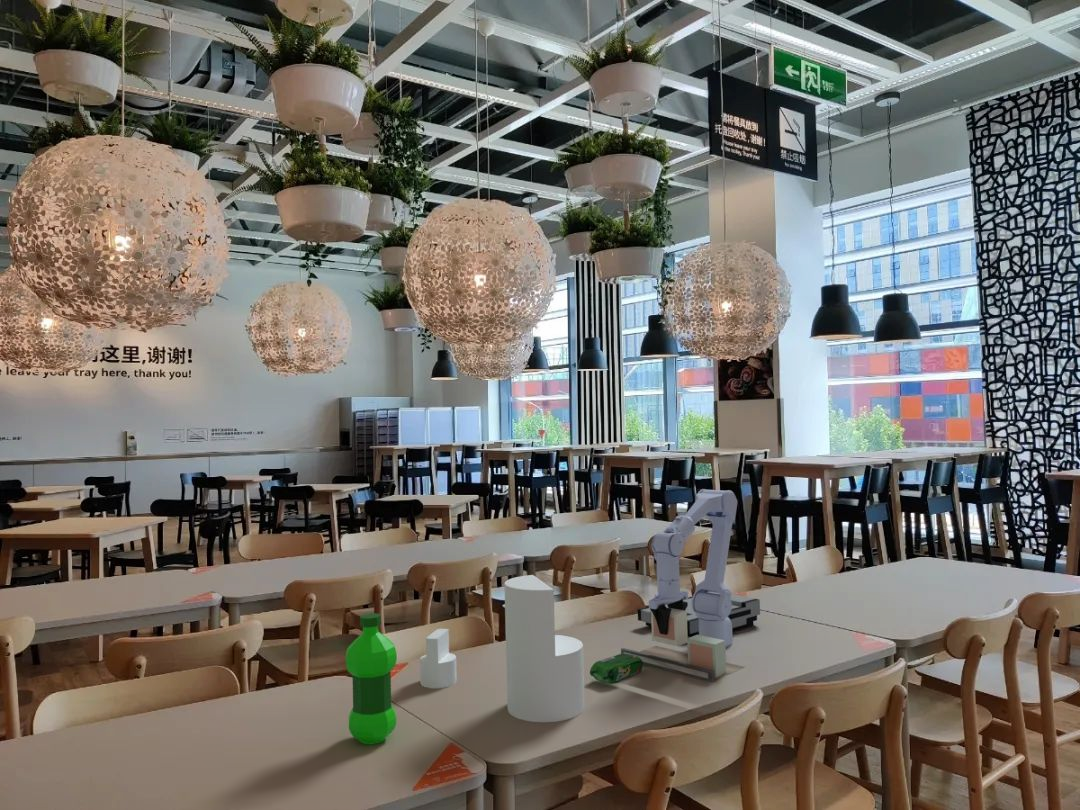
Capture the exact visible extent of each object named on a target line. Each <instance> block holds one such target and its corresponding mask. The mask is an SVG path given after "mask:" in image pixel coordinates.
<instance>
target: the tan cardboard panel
mask: <svg viewBox="0 0 1080 810" xmlns="http://www.w3.org/2000/svg"><path fill="white" fill-rule="evenodd" d="M620 654H629V655H634V656H637V657H639V658H640V659H641V660H642V662H643V666H644V665H645V666H648V667H652V668H657V669H660V670H663V671H668V672H672V673H675V674H678V675H679V674H680V675H683V676H687V677H689V678H693V679H699V680H702V681H706V682H710V683H713V682H715V681H718V680H720V679H722V678H724V677H727V676H729V675H731V674H734V673H736V672H737V671H740V670H742V669H744V668H745V666H742V665H738V664H735V663H729V662H726V673H725V674H723V675H721V676H719V677H716V678H715V677H714V670H710V669H706V668H702V667H698V666H694V665H690V664H688V652H683V651H679V650H675V649H671V648H667V647H662V646H659V645H655V646H651V647H649V648H646V649H642V650H640V651H637V650H634V649H630V648H625V647H622V648H620Z"/></svg>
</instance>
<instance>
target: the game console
mask: <svg viewBox="0 0 1080 810" xmlns="http://www.w3.org/2000/svg"><path fill="white" fill-rule="evenodd" d="M694 593H695V591H693V592H692V596H688V599H687V600H683V601H684V602H688V606H687V608H686V610H685V611H687V636H688V638H690V637H693V636H695V635H699V617H697V616H696V613H695V612H694V611H693V609H692V604H691V601H692V597H693V595H694ZM708 593H714V594H719V593H716V592H708ZM731 603H732V609H731V612H730V614H729V616H728V618H729V619H730V621H731V623H732V633H735V631H736V632H738V631H739V632H740V631H742V629H743V630H745V628H746V629H749V627H750V628H752V626H753V627H754V622H755V621H758V616H760V615H761V601H760V599H758V598H752V597H749V596H743V595H738V594H733V593H731ZM665 607H667V608H668V606H667V605H665ZM637 621H639V622H644V623H645V626H646V627H651V628H652V623H651V610H650V608H649V606H646V607H645V606H644V607H640V608H637Z"/></svg>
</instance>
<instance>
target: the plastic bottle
mask: <svg viewBox="0 0 1080 810" xmlns="http://www.w3.org/2000/svg"><path fill="white" fill-rule="evenodd" d="M381 619H382V615H381V613H365V614H362V615H360V616H359V624H360V625H359V626H360V627H361V628H362V633H361V634H360V635H359V636H358V637H357V638H355V639H354V640H353V641H352V642H351V644H349V646H348V647H347V649H346V652H345V665H346V670H347V672H348V673H349V674H350V675H352V708H351V710H350V713H349V715H348V729H349V731H350V732H349V733H350V735H352V736H353V738H355V739H356V740H358V741H359V742H360V743H361V742H362V744H364V745H376V744H379V743H382V742H383V741H385V740H386V738H387V737H388V736H389V735H390V734H391V733H392V732H394V730H395V728H396V724H397V716H396V715H397V714H396V711H395V708H394V706H393V705H392V683H391V682H392V677H391V675H392V674H391V672H392V671H393V669H394V668H395V667H396V665H397V653H398V652H397V650H396V647H395V644H394V641H392V640H391V639H390V638H388V637H387V636H386V635H385V634H382V633H381V632H380V631H379V626H381V625H382V621H381ZM375 743H376V744H375Z"/></svg>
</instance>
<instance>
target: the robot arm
mask: <svg viewBox="0 0 1080 810" xmlns="http://www.w3.org/2000/svg"><path fill="white" fill-rule="evenodd" d="M737 506H738V499H737V497H736V495H735V493H734V492H733V491H732V490H730V489H729V490H723V489H722V490H716V489H706V488H702V489H700V490H698V492H697V493H696V494H695V500H694V503H692V506H691V507H690V508H689V509H688V511H687V512H686V513H685V514H684V515H677V516H675V518H674V520H673V521H672V522H671V523H670V524H669V525H668V526H667V527H666V528H665V529H664V530H663V532H662V531H658V532H657V533H656V534H655V535H654V536H653V537H652V540H651V544H650V545H651V550H652V552H653V554H654V560H655V561H656V579H657V580H656V582H657V583H656V585H657V587H656V589H657V593H655V594H654V596H653V598H652V599H649V600H648V607H649V608H650V610H651V611H652V613H653V615H654V617H655V619H656V622H657V625H658V629H659V632H660V634H664V635H667V634H668V626H669V617H670V613H671V610H672V609H678V610H683V611H685V610H686V608H687V606H688V602H684V601H683V600H687V599H688V597H689V591H684V590H681V589H680V588H681V587H680V581H681V580H680V555H681V554H682V553H683V550H684V547H685V546H684V545H685V544H686V541H687V540H688V539H689V538H690V537H691V536H692V534H693V533H694V532H695V529H696V527H695V526H696V524H698V522H699V521H701V520H702V519H703V518H704V517H705V518H706V519H707V520H708V521H710V523H711V524H712V528H711V536H710V542H709V549H708V554H707V561H706V568H705V574H704V575H705V576H704V579H703V580H702V581H701V582H699V583H698V584H696V586H695V590H694V592H695V593H694V595H693V594H692V596H693V597H692V596H691V597H692V601H691V604H692V609H693V611H694V612H695V613H696V616H697V617H699V635H702V636H706V637H711V638H716V639H721V640H725V649H726V648H727V647H730V646H732V645H734V643H733V632H732V623H731V621H730V619H729V618H728V616H729V614H730V612H731V609H732V603H731V594H732V591H731V590H730V589H729V588H728V587H727V585H726V584H725V575H726V568H727V561H728V557H729V556H728V554H729V548H730V542H731V541H730V540H731V534H732V529H733V523H734V522H735V521H736V515H737V508H738V507H737ZM708 592H716V593H719V594H714V593H708ZM665 605H667V606H668V608H666V607H665ZM670 608H672V609H670Z"/></svg>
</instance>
